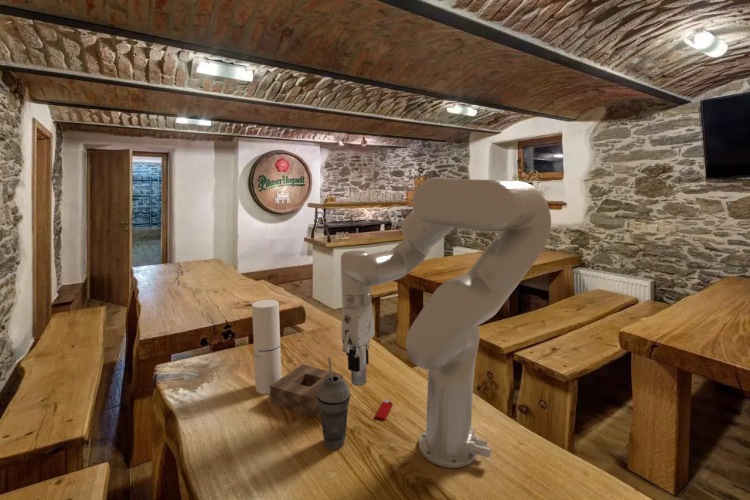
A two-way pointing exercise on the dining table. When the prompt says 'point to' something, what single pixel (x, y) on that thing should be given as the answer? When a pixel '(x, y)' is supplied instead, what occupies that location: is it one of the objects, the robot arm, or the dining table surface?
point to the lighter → (383, 410)
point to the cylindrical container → (266, 344)
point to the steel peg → (360, 376)
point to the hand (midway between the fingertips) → (358, 366)
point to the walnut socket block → (300, 389)
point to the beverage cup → (334, 410)
